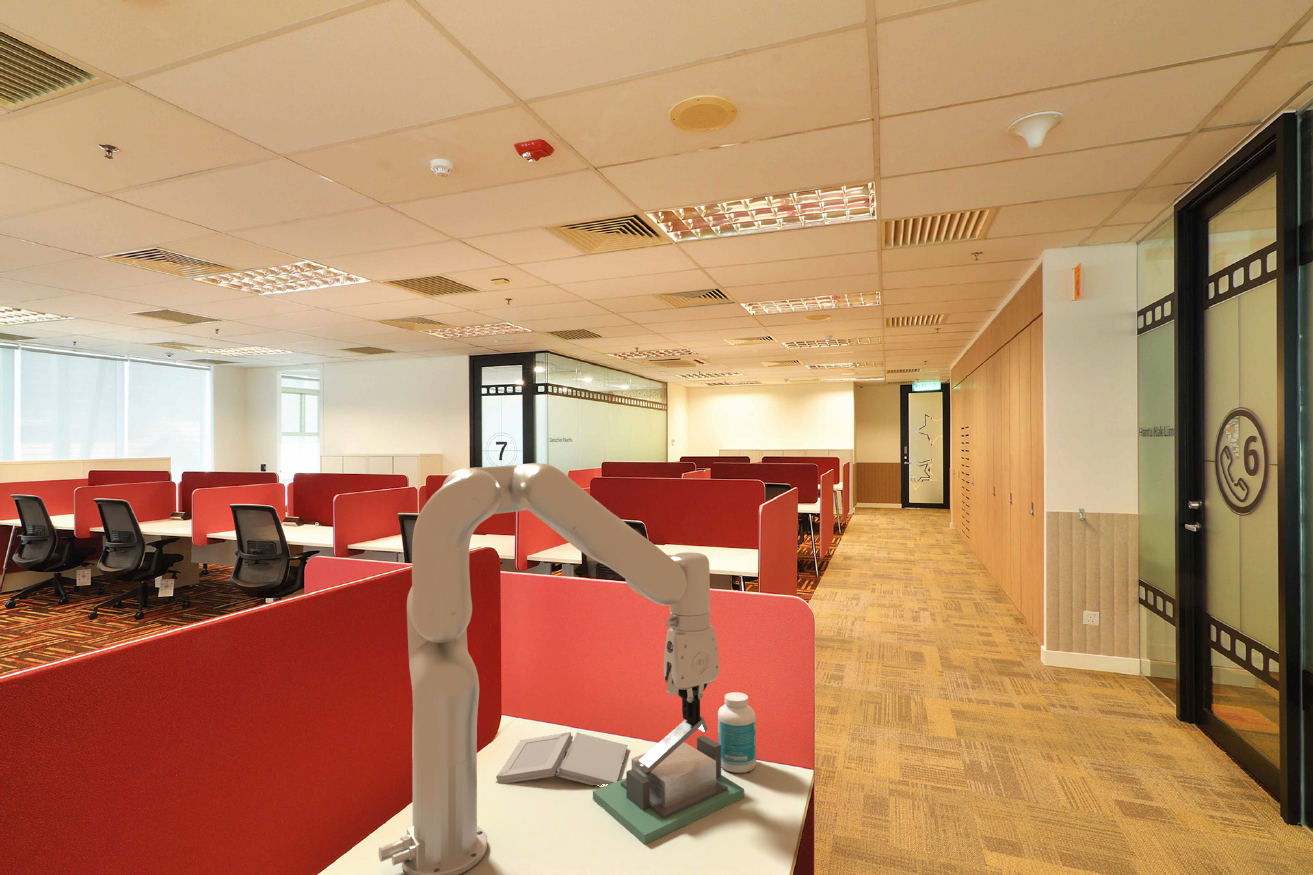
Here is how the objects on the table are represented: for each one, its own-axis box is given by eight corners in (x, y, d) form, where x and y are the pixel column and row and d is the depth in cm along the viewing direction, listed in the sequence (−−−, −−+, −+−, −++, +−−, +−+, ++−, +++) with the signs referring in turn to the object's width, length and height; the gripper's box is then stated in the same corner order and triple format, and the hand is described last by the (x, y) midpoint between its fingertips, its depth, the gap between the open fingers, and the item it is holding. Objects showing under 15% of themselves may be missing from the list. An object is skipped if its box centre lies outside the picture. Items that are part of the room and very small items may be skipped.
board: (644, 844, 98) (644, 797, 98) (592, 799, 111) (592, 757, 111) (744, 797, 111) (743, 755, 112) (687, 761, 124) (687, 724, 124)
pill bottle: (763, 770, 121) (762, 700, 121) (729, 777, 118) (729, 706, 118) (744, 752, 128) (743, 686, 128) (711, 759, 125) (711, 692, 125)
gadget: (628, 751, 130) (628, 733, 130) (616, 791, 115) (616, 771, 115) (520, 747, 132) (520, 729, 132) (495, 785, 117) (495, 765, 117)
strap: (649, 783, 107) (644, 770, 106) (638, 775, 109) (633, 763, 109) (708, 729, 115) (703, 717, 115) (696, 723, 118) (692, 711, 117)
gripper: (670, 632, 108) (672, 739, 107) (733, 617, 117) (734, 715, 116) (645, 623, 114) (646, 724, 113) (706, 609, 123) (708, 703, 122)
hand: (691, 719), depth 115 cm, fingers closed
